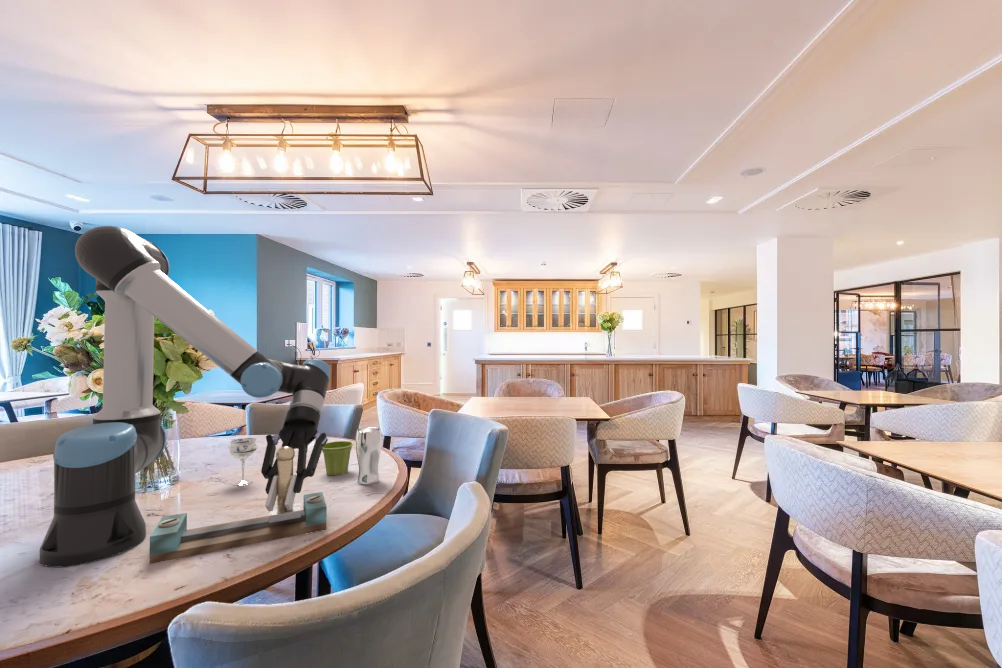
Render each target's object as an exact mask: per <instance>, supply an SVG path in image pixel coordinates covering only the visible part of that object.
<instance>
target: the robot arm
mask: <svg viewBox="0 0 1002 668" xmlns="http://www.w3.org/2000/svg"><path fill="white" fill-rule="evenodd" d="M161 249H162V248H160V247H159V246H158V245H157V244H155V243H154V242H152V241H150V240H148V239H146V238H143V237H141V236H139V234H136V233H134V232H132V231H130V230H128V229H126V228H124V227H119V226H113V225H102V226H96V227H93V228H91V229H89V230H86V231H85V232H84V233H82V234H81V235H80V237H78V239H77V241H76V243H75V246H74V254H75V259H76V261H77V263H78V265H79V266H80V268H81V269H82V270H84V271H85V273H87V274H88V275H90V276H91V277H93V278H95V293H96V294H97V295H98V297H99V296H100V298H101V299H103V300H104V303H105V304H104V330H103V331H104V336H103V337H104V338H103V347H104V348H103V377H102V379H103V381H102V408H101V409H100V410H99V411H98V412H97V413H96V414H94V415H93V417H92V424H89V425H86V426H82V427H81V426H80V427H76V428H74V429H71V430H69V431H66V432H64V433H63V434H61V435H60V436H59V437H58V438H57V439H56V441H55V445H54V447H55V448H54V452H53V455H52V456H53V459H52V460H53V469H54V470H53V482H54V483H53V516H52V517H53V518H52V520H51V522H50V525H49V527H48V529H47V531H46V534H45V536H44V538H43V541H42V543H41V546H40V548H39V563H40V564H41V565H42V564H43V565H42V566H44V565H47V566H46V567H50V566H63V567H69V566H79V565H82V564H89V563H92V562H96V561H100V560H104V559H107V558H110V557H113V556H116V555H119V554H121V553H124V552H125V551H127V550H128V551H129V550H130V549H132V548H134V547H136V546H137V545H138V544H141V542H143V541H144V539H145V538H146V536H147V525H146V522H145V519H144V518H143V516H142V513H141V510H140V507H139V506H138V503H137V501H136V474H137V473H139V472H140V471H142V470H143V469H145V468H147V467H149V466H150V465H152V464H153V463H154V462H155V461H156V460H157V459H158V458H160V455H161V454H162V453H163V451H164V450H165V447H166V445H167V432H166V429H165V428H164V426H163V425H162V424H161V410H160V409H158V408H157V407H156V406H154V404H153V403H154V402H153V397H154V353H155V351H154V349H155V348H154V347H155V346H154V345H155V318H156V319H157V320H158V321H160V322H161V323H162V324H163V325H164V326H166V327H167V328H168V329H170V330H171V331H172V332H173V333H175V334H176V335H178V336H179V337H180V338H181V339H183V340H184V341H185V342H187V343H188V344H189V345H190V346H192V347H193V348H194V349H196V350H197V351H198V352H200V353H201V354H202V355H203V356H204V357H205V358H207V359H208V360H209V361H211V362H212V363H213V364H215V365H216V366H217V367H218V368H220V369H221V370H223V372H225V373H226V374H228V376H230V377H231V378H232V379H234V381H236V382H237V383H238V384H240V387H241V388H242V389H243V391H244V392H245V393H246V395H248V396H251V397H253V398H262V399H263V398H266V397H267V398H268V397H270V396H272V395H273V394H276V393H277V392H278V393H284V394H289V395H290V394H291V395H292V396H291V400H290V403H289V406H288V408H287V412H286V415H285V418H284V421H283V425H282V428H281V429H280V430H279V432H278V433H277V434H273V435H272V434H267V435H266V436H265V438H266V448H265V453H264V456H263V457H264V458H263V461H262V465H261V470H260V472H261V473H260V474H262V476H263V478H264V479H265V480H267V483H266V486H265V490H264V491H265V493H266V494H267V498H266V502H265V504H264V507H265V508H266V509H267V511H268V512H269V511H273V508H274V507H275V503H276V500H277V478H278V460H277V458H276V459H275V456H276V452H277V451H276V450H277V447H276V446H277V445H278V444H279V441H280V440H281V442H282V444H281V447H283V446H290V447H292V448H293V449H294V450H295V449H298V451H297V452H298V453H297V463H296V464H297V465H296V470H295V473H296V474H293V475H292V478H291V482H290V485H289V489H288V493H287V497H286V500H285V504H284V505H285V506H286V508H287V510H292V506H293V504H294V502H295V498H296V495H297V494H300V493H301V491H302V489H303V483H304V480H305V479H306V478H311V477H314V475H315V473H316V470H317V467H318V464H319V461H320V458H321V454H322V453H323V452H322V448H323V446H324V445H325V444H326V443H328V440H329V439H328V437H327V434H326V433H325V432H322V433H320V432H319V431H318V428H319V424H320V419H321V414H322V411H323V407H324V402H325V398H326V394H327V389H328V386H329V384H330V383H329V382H330V377H331V367H330V366H329V364H328V363H327V362H326V361H324V360H322V359H319V358H313V359H310V358H309V359H306V360H305V361H303V362H302V364H293V363H288V362H284V361H280V360H279V361H278V360H274V359H269V358H267V357H266V356H264V354H262V353H261V352H260V351H258V350H257V349H256V348H255V347H253V346H252V345H251V344H250V343H248V341H246V340H245V339H243V338H242V336H240V335H239V334H237V332H236V331H234V330H233V329H231V328H230V327H229V326H228V325H227V324H226V323H224V322H223V321H222V320H220V319H219V317H217V316H216V315H214V314H213V313H212V312H211V311H210V310H208V308H206V307H205V306H204V305H203V304H201V303H200V302H199V301H198V300H196V299H195V298H194V297H193V296H191V295H190V294H189V293H188V292H187V291H185V290H184V289H183V288H182V287H181V286H180V285H178V284H177V283H176V282H175V281H173V280H172V279H171V278H170V277H169V276H170V272H171V265H170V261H169V258H168V257H167V255H166V254H165V252H164V251H163V250H161ZM313 441H315V443H314V445H313V447H312V450H311V453H310V456H309V460H308V462H307V457H308V456H307V454H308V448H309V445H310V444H311V443H312V442H313Z"/></svg>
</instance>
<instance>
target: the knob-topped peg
mask: <svg viewBox="0 0 1002 668" xmlns="http://www.w3.org/2000/svg"><path fill="white" fill-rule="evenodd" d="M295 454H296V452H295V449H293V448H292V447H290V446H283V447H282V446H281V447H279V448H278V449H277V451H276V452H275V457H276V458H277V460H278V478H277V497H276V500H277V502H276V503H277V505H275V506H274V508H273V511H268V513H269V514H268V516H269V523H272V522H278V521H283V520H289V519H295V518H300V517H301V510H302V509H301V502H295V503H294V502H293V506H292V510H287V508H286V506H285V505H284V504H285V500H286V497H287V493H288V489H289V485H290V482H291V478H292V475H294V458H295Z"/></svg>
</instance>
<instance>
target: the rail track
mask: <svg viewBox="0 0 1002 668" xmlns="http://www.w3.org/2000/svg"><path fill="white" fill-rule="evenodd" d="M327 507H328V506H327V503H326V500H325V496H324V494H323V491H318V492H314V493H313V492H311V493H306V494H303V509H301V517H300V518H295V519H289V520H283V521H278V522H272V523H269V515H267V516H261V517H254V518H248V519H243V520H237V521H229V522H224V523H219V524H214V525H213V524H212V525H207V526H202V527H195V528H190V529H188V527H187V525H188V516H187V515H188V513H187V512H185V513H184V512H183V513H179V514H177V513H176V514H170V515H165V516H162V517H161V519H160V520H159V522H158V523H157V525H156V526H155V528H154V529H153V531H152V533H150V536H149V559H148V560H149V565H154V564H157V563H158V564H159V563H163V562H169V561H173V560H179V559H184V558H189V557H195V556H199V555H204V554H209V553H215V552H219V551H220V552H221V551H224V550H230V549H234V548H235V549H236V548H241V547H246V546H251V545H256V544H261V543H266V542H267V543H268V542H271V541H276V540H281V539H287V538H292V537H297V536H301V535H302V534H303V535H307V534H306V533H308V534H312V533H311V532H313V533H317V532H316V531H318V532H323V531H326V530H327V529H328V528H327V525H328V524H327V522H328V521H327ZM322 530H323V531H322Z"/></svg>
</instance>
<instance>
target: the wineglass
mask: <svg viewBox="0 0 1002 668" xmlns="http://www.w3.org/2000/svg"><path fill="white" fill-rule="evenodd" d="M256 441H257V438H254V437H245V438H243V437H242V438H237V439H233V440H230V441H229V444H230V445H229V453H230V455H231V456H232V457H233V458H235V459H238V460H239V461H240V462H241V477H242V478H241V480H238V481H234V482H233V483H232V485H233V484H234V485H233V486H236V485H239V486H244V485H243V484H246V485H248V484H247V483H250V482H252V479H245V464H246V463H245V462H246V460H247V459H248V458H250V457H251V456H253V454H254V453H256V451H257V448H258V447H257V446H258V445H257V442H256ZM252 483H253V482H252ZM250 484H251V483H250Z"/></svg>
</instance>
